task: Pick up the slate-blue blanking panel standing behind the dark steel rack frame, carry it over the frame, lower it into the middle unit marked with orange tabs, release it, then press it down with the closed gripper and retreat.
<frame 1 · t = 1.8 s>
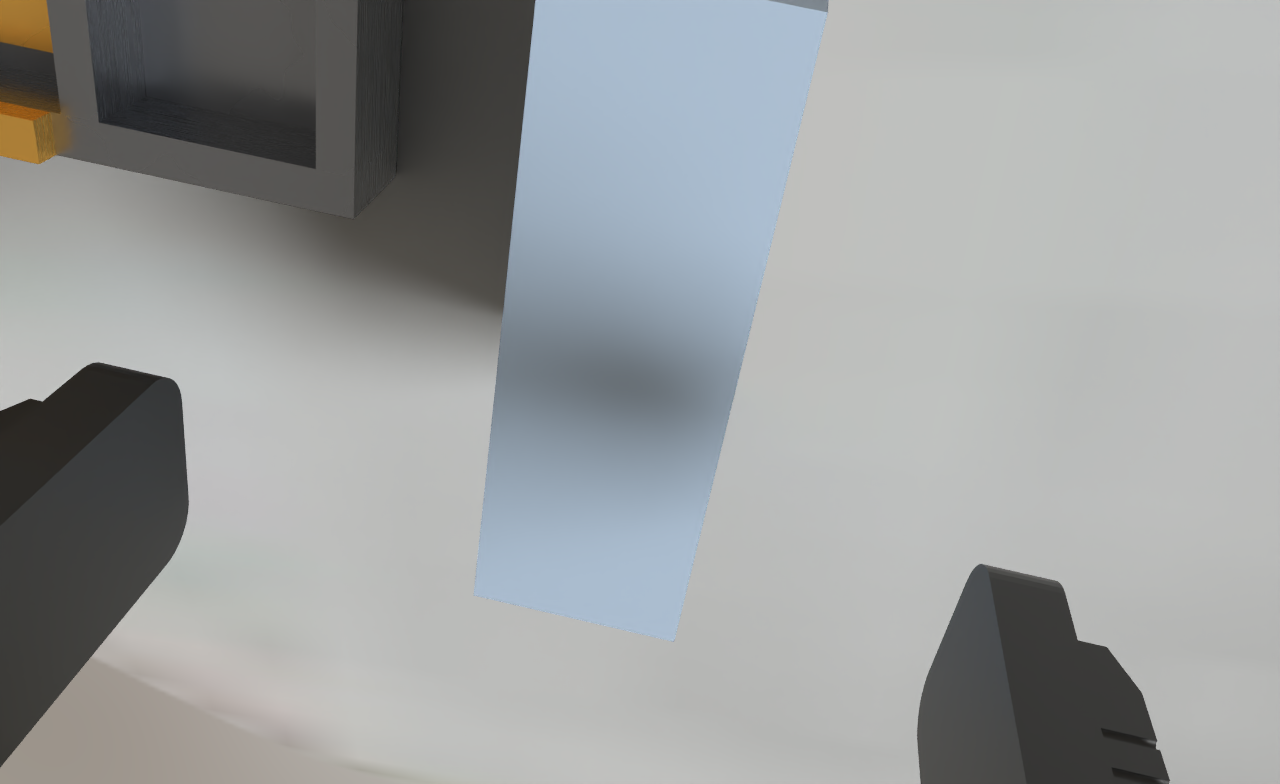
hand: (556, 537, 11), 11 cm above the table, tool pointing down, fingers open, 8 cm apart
panel: (693, 145, 20), on the table
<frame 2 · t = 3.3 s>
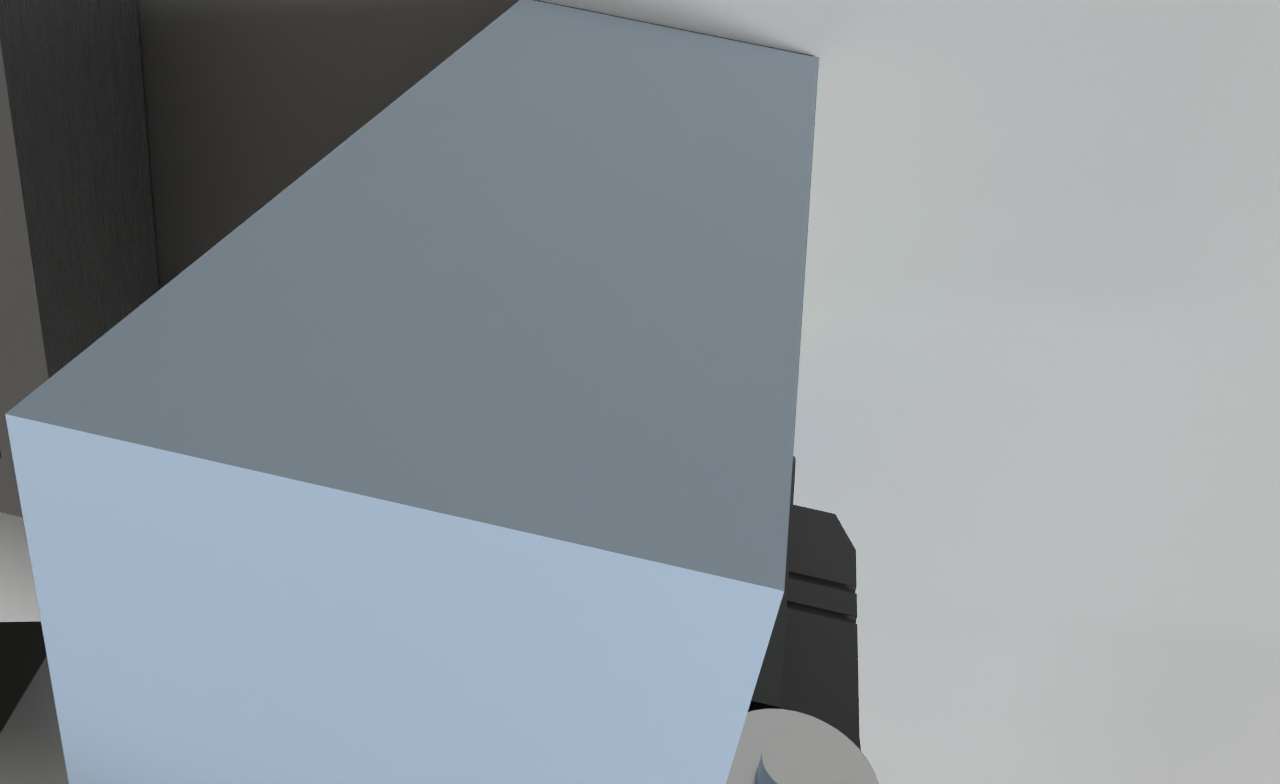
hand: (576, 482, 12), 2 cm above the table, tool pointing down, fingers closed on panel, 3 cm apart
panel: (605, 406, 13), on the table, touching gripper
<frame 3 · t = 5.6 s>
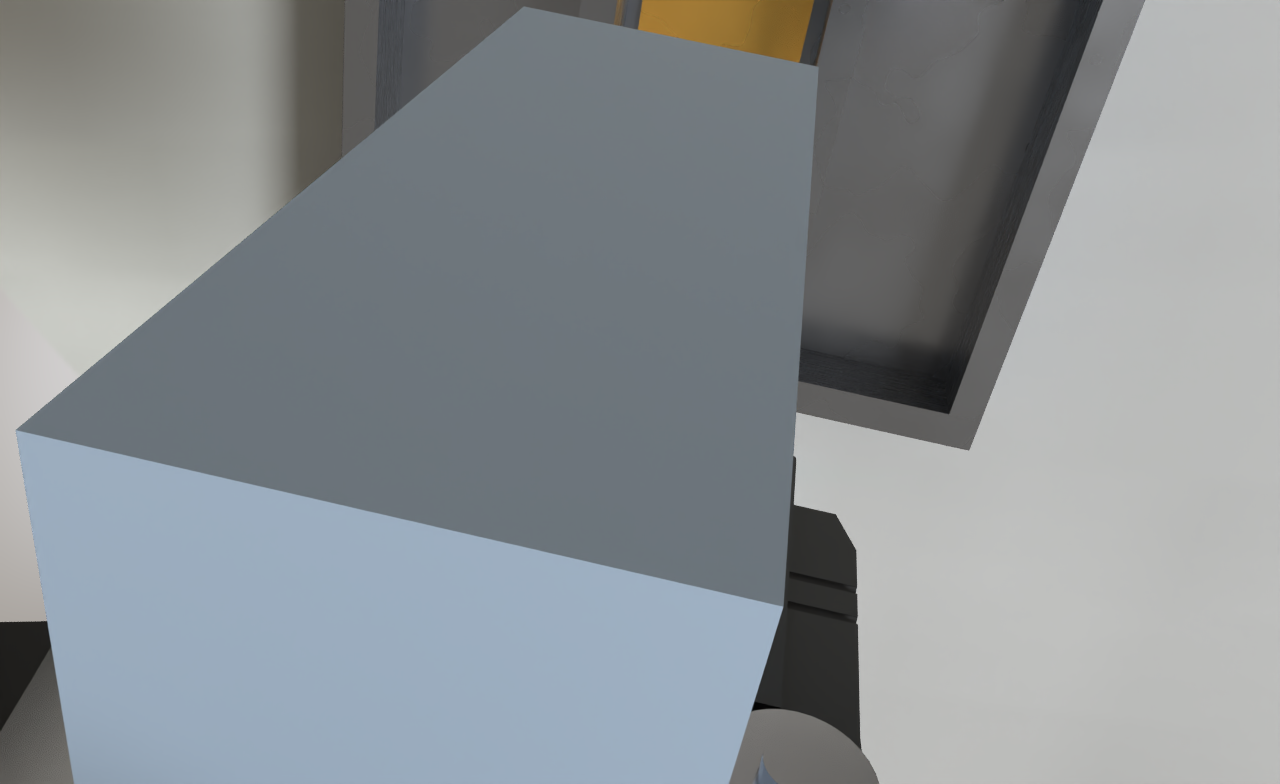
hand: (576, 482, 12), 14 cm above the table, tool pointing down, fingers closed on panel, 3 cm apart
panel: (605, 411, 13), point 13 cm above the table, touching gripper
rack: (707, 106, 24), on the table
when the fingers open (4 cm above the table, at t = 7.7 s): panel stays where it is, resting on rack.
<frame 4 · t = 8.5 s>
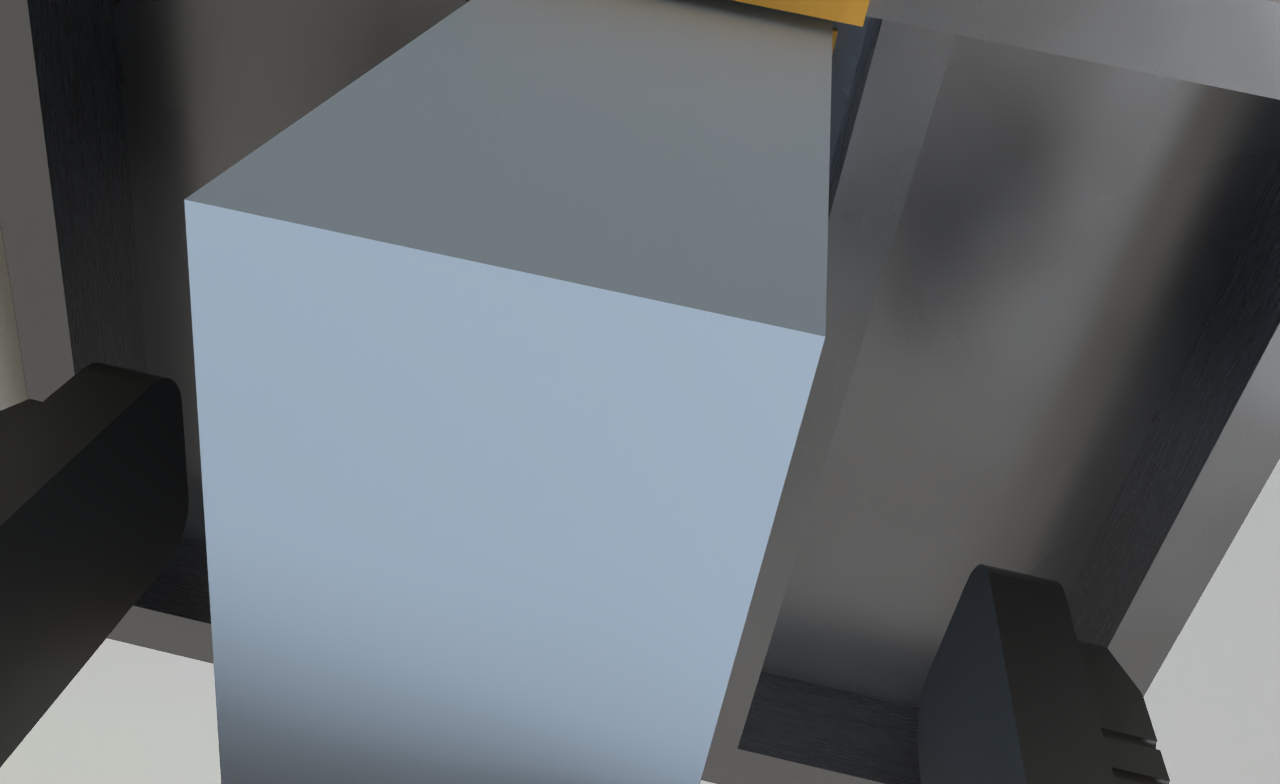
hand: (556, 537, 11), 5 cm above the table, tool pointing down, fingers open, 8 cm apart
panel: (631, 330, 14), point 1 cm above the table, touching rack
rack: (630, 329, 15), on the table
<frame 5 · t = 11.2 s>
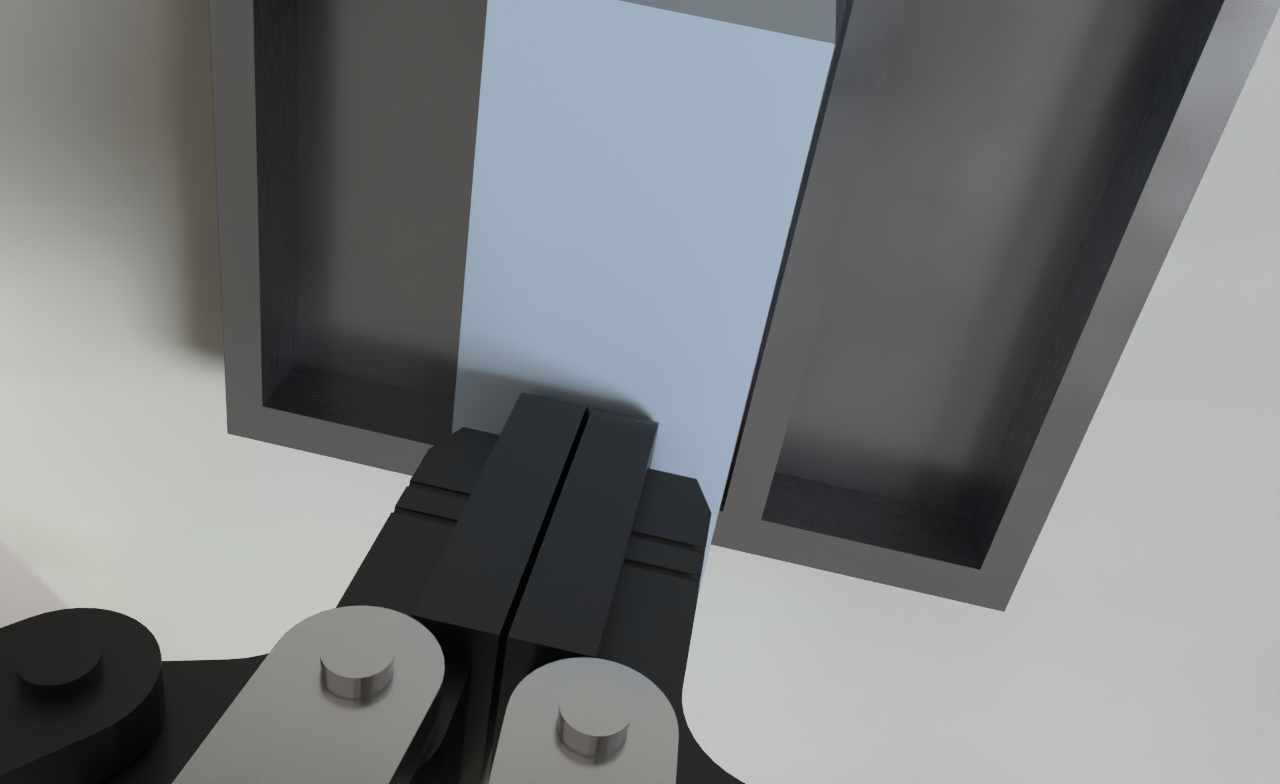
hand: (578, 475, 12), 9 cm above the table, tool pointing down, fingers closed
panel: (682, 182, 19), point 1 cm above the table, touching gripper, rack
rack: (679, 188, 19), on the table
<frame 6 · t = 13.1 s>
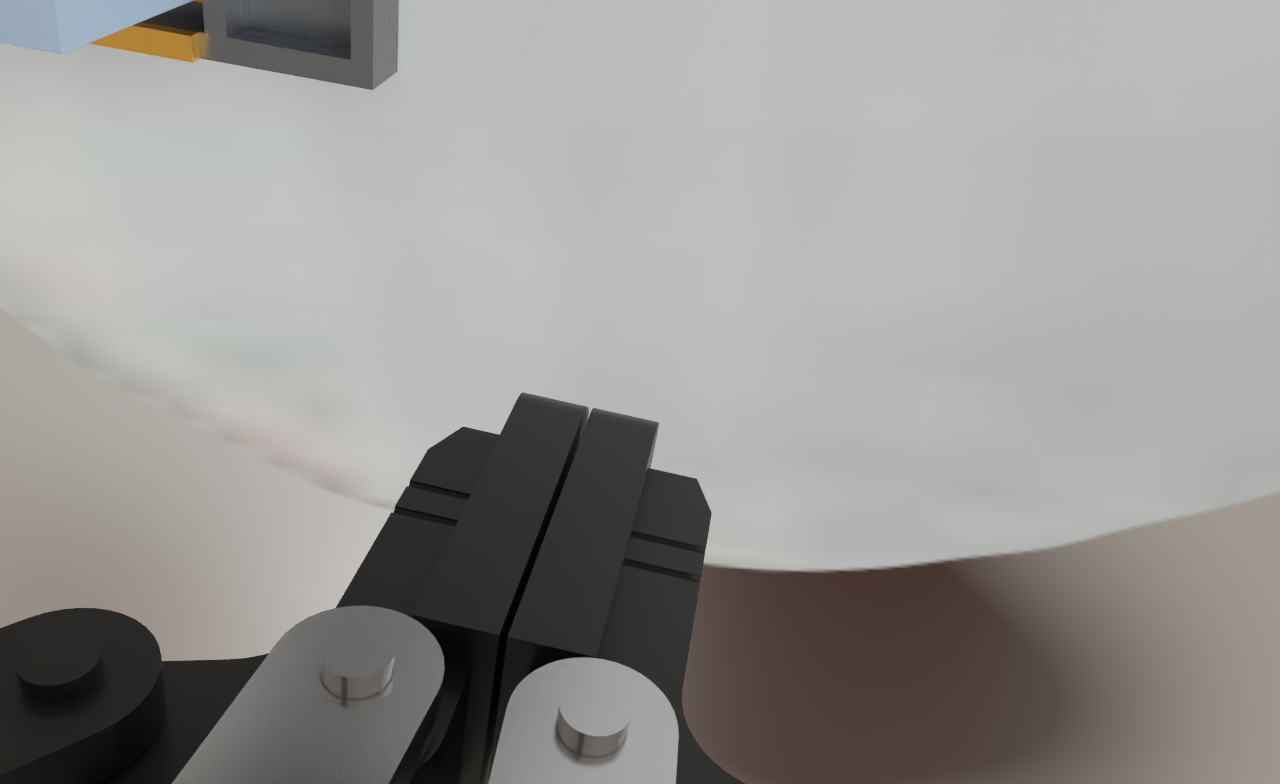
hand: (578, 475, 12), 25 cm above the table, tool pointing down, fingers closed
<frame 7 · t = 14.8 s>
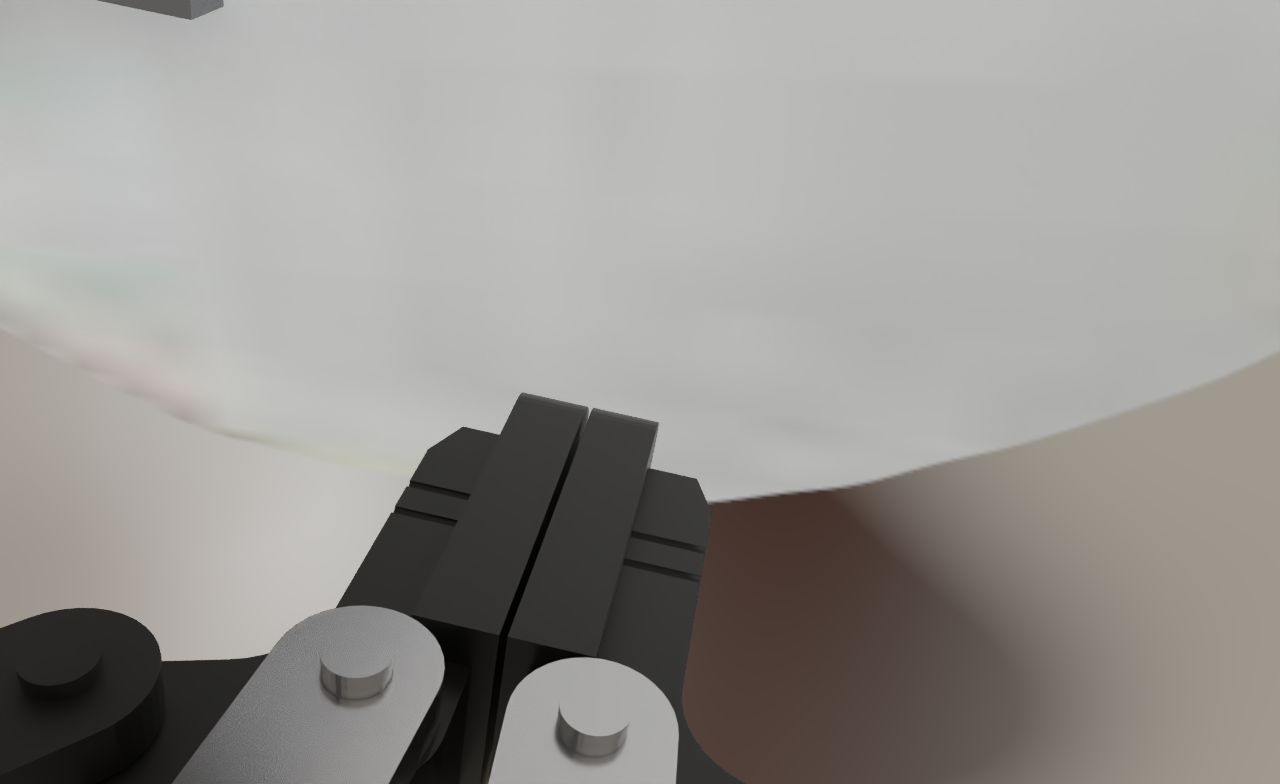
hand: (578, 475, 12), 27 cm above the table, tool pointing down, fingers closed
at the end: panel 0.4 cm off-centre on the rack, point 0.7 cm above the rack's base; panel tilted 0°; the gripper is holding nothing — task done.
